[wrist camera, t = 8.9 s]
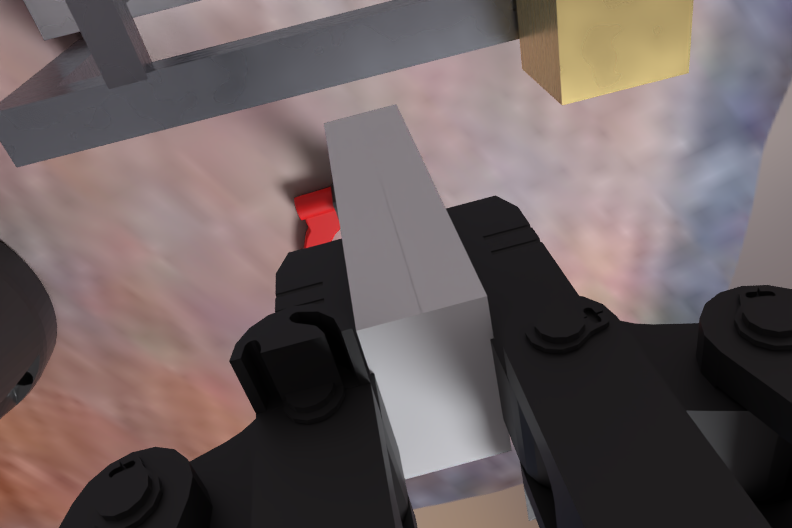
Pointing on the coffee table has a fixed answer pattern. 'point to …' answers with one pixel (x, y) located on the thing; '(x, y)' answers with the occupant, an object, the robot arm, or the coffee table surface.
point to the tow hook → (318, 215)
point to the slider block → (603, 44)
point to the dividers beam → (224, 69)
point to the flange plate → (58, 21)
